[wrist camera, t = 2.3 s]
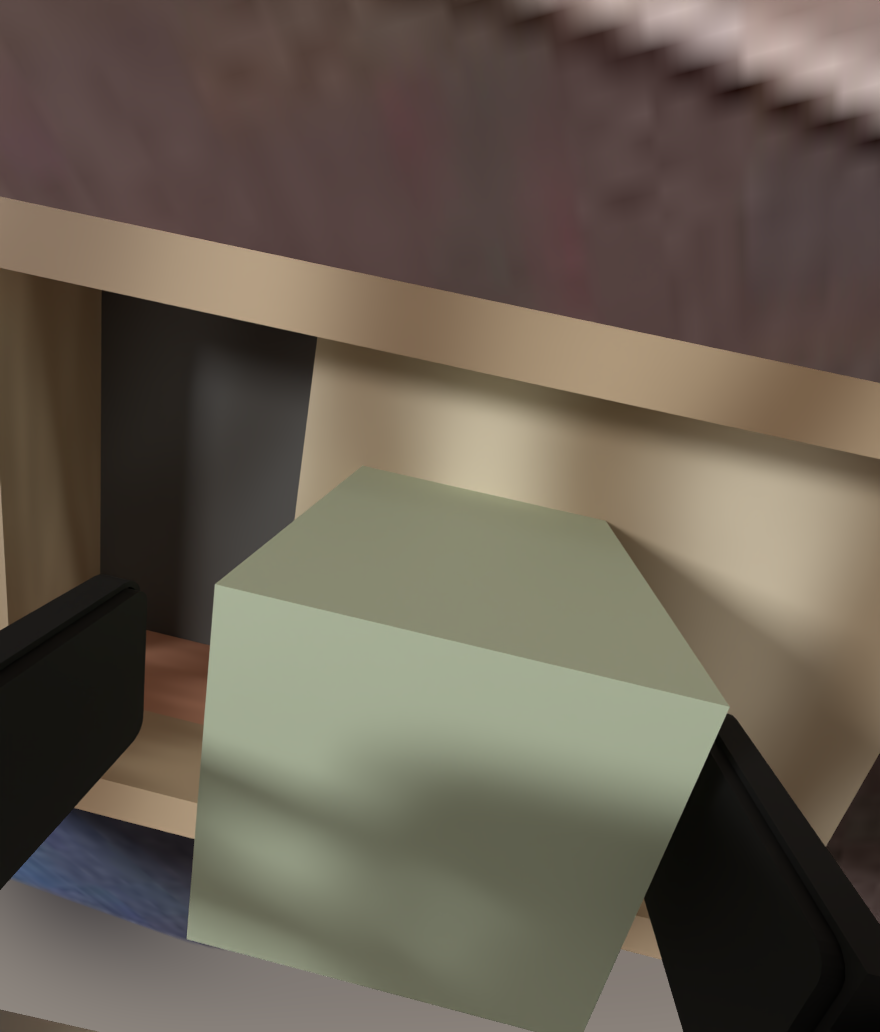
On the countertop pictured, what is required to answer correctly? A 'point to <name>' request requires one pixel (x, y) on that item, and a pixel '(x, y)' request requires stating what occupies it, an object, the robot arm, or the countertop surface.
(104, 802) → the channel track
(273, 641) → the sage block
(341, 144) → the countertop surface
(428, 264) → the countertop surface
